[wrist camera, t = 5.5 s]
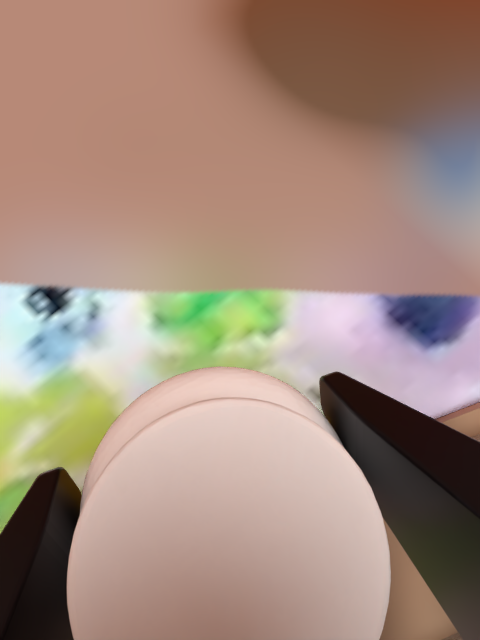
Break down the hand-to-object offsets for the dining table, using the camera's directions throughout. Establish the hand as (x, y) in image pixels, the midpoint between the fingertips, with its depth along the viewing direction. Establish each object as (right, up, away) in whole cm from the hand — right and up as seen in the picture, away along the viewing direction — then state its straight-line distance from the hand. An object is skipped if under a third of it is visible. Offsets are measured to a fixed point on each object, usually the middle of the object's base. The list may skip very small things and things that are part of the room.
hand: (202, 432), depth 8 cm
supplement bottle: (0, -3, +6) cm, 7 cm away
